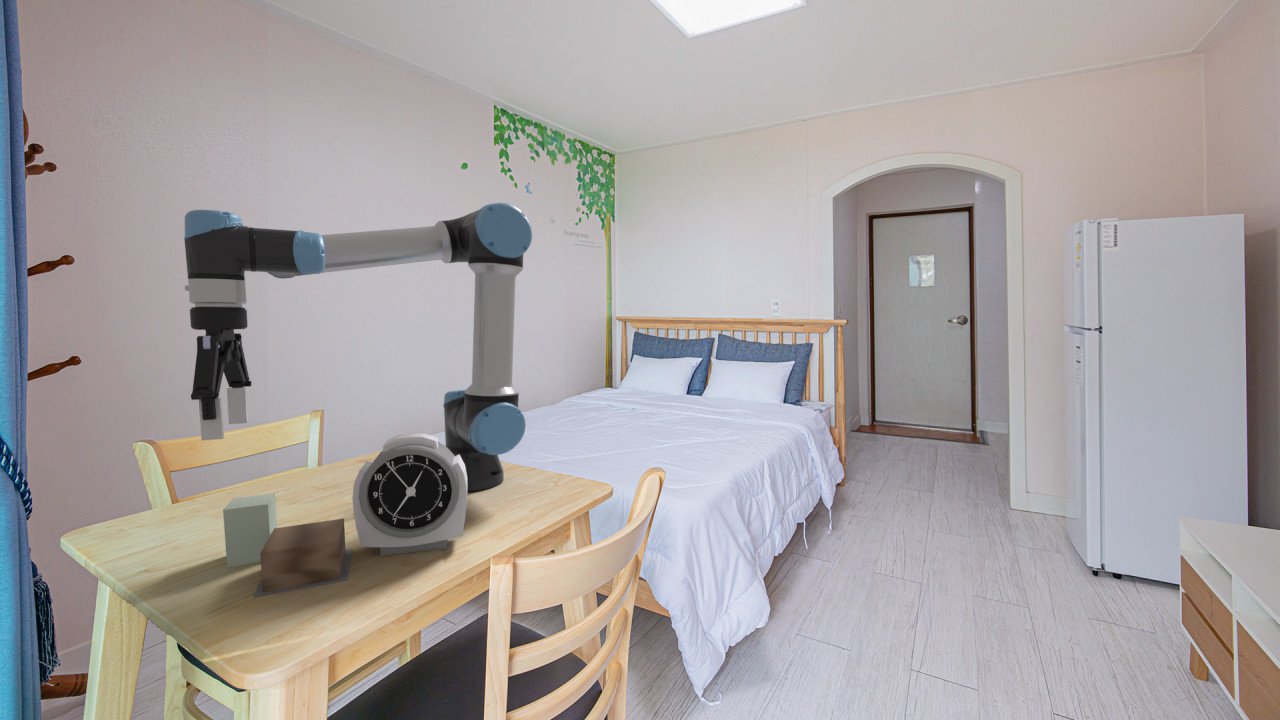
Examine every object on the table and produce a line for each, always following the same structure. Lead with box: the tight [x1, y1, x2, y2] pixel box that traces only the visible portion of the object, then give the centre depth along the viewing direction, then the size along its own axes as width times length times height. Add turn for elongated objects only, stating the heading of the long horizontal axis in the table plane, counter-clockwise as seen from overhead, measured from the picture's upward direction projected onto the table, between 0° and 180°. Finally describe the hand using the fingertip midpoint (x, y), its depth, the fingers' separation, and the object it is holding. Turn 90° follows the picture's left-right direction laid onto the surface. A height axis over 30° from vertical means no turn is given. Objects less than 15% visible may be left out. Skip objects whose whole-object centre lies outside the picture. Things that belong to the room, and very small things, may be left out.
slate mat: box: [252, 548, 353, 599], centre depth 85 cm, size 12×12×1 cm
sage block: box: [222, 492, 278, 568], centre depth 90 cm, size 6×6×10 cm
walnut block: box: [260, 518, 347, 593], centre depth 85 cm, size 10×10×6 cm
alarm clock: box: [351, 432, 468, 557], centre depth 94 cm, size 18×8×20 cm, turn 106°
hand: (226, 431), depth 91 cm, fingers open, 13 cm apart
